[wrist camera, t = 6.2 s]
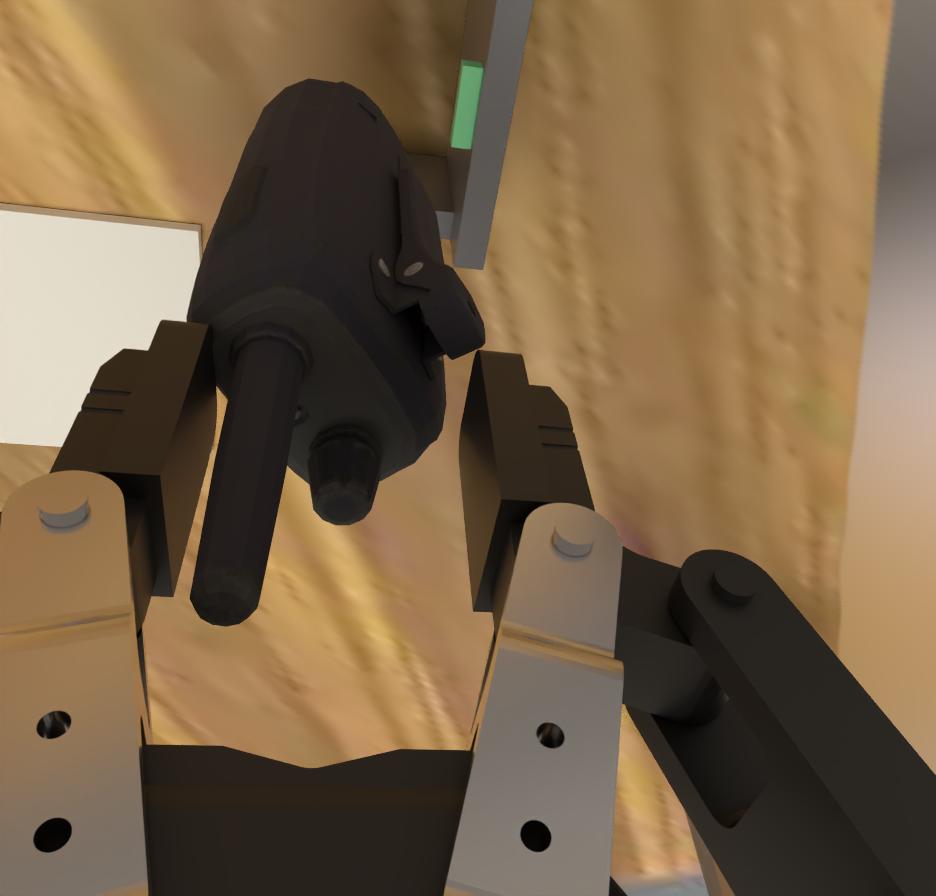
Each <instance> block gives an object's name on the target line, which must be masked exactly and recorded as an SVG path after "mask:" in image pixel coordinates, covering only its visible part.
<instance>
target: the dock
mask: <svg viewBox="0 0 936 896" xmlns="http://www.w3.org/2000/svg"><path fill="white" fill-rule="evenodd" d="M533 1H534V0H469V1H468V8H467V15H466V22H465V29H464V36H463V43H462V50H461V57H460V65H459V72H458V79H457V86H456V93H455V100H454V107H453V114H452V121H451V128H450V135H449V142H448V149H447V156H446V158H445V157H437V156H430V155H422V154H414V153H407V155H408V157H409V159H410V161H411V163H412V165H413V167H414V169H415V172H416V174H417V176H418V178H419V180H420V182H421V184H422V186H423V187H424V189H425V191H426V193H427V195H428V197H429V198H430V201H431V203H432V205H433V207H434V209H435V212H436V215H437V219H438V226H439V232H440V238H441V239H450V242H451V249H452V257H453V265H454V267H460V268H469V269H479V270H483V267H484V262H485V256H486V251H487V246H488V241H489V235H490V230H491V225H492V219H493V214H494V209H495V203H496V198H497V193H498V187H499V182H500V177H501V171H502V166H503V161H504V155H505V150H506V145H507V139H508V134H509V129H510V123H511V118H512V113H513V107H514V102H515V97H516V91H517V86H518V81H519V75H520V70H521V65H522V59H523V54H524V49H525V43H526V38H527V33H528V27H529V22H530V17H531V11H532V6H533Z"/></svg>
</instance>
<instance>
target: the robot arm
mask: <svg viewBox="0 0 936 896" xmlns="http://www.w3.org/2000/svg"><path fill="white" fill-rule="evenodd" d="M212 341H213V328H212V325H211V324H204V323H194V322H183V321H173V320H161V321H160V323H159V325H158V327H157V330H156V332H155V335H154V337H153V340H152V342H151V345H150V347H149V349H148V350H137V349H126V348H124V349H122V350H121V351H120V352H118V353H117V354H116V355H114V356H113V357H112V358H111V359H109V360H108V361H107V362H105V363H104V364H103V365H101V366H100V368H99V370H98V372H97V374H96V376H95V378H94V380H93V383H92V385H91V387H90V392H89V393H87V395H86V397H85V399H84V401H83V404H82V406H81V411H79V412H78V414H77V416H76V418H75V420H74V422H73V425H72V427H71V429H70V431H69V433H68V435H67V437H66V439H65V441H64V443H63V446H62V448H61V450H60V452H59V454H58V456H57V458H56V460H55V462H54V465H53V467H52V469H51V471H50V473H49V474H46V475H43V476H40V477H38V478H35V479H33V480H31V481H29V482H27V483H25V484H24V485H22V486H21V487H19V488H18V489H17V490H16V491H15V492H14V493H12V494H11V496H10V497H9V498H8V499H7V501H6V502H5V504H4V507H3V509H2V512H0V896H627V895H626V893H625V892H624V891H623V890H622V889H621V888H620V887H619V885H618V884H617V883H616V882H615V881H614V880H613V878H612V877H611V876H610V867H611V853H612V838H613V824H614V810H615V795H616V781H617V767H618V752H619V738H620V724H621V710H622V704H625V706H626V709H627V711H628V713H629V715H630V717H631V719H632V720H633V722H634V724H635V726H636V727H637V729H638V731H639V732H640V734H641V736H642V738H643V739H644V741H645V743H646V744H647V746H648V748H649V749H650V751H651V753H652V755H653V756H654V758H655V760H656V761H657V763H658V765H659V767H660V768H661V770H662V772H663V773H664V775H665V777H666V779H667V780H668V782H669V784H670V785H671V787H672V789H673V791H674V792H675V794H676V796H677V797H678V799H679V801H680V802H681V804H682V806H683V808H684V810H685V813H686V817H687V820H688V824H689V827H690V831H691V834H692V838H693V842H694V845H695V849H696V852H697V856H698V859H699V863H700V867H701V870H702V873H703V877H704V880H705V884H706V888H707V891H708V895H709V896H936V775H935V774H934V773H933V772H932V770H931V769H930V768H929V767H928V766H927V764H926V763H925V762H924V761H923V759H922V758H921V757H920V756H919V755H918V753H917V752H916V751H915V750H914V749H913V748H912V746H911V745H910V744H909V743H908V742H907V740H906V739H905V738H904V737H903V736H902V734H901V733H900V732H899V731H898V729H897V728H896V727H895V726H894V725H893V724H892V722H891V721H890V720H889V719H888V717H887V716H886V715H885V714H884V713H883V711H882V710H881V709H880V708H879V707H878V706H877V704H876V703H875V702H874V701H873V699H871V697H870V696H869V695H868V693H867V692H866V691H865V690H864V689H863V687H862V686H861V685H860V684H859V683H858V681H857V680H856V679H855V678H854V677H853V675H852V674H851V673H850V672H849V671H848V669H847V668H846V667H845V666H844V665H843V663H842V662H841V661H840V660H839V658H838V657H837V656H836V655H835V654H834V652H833V651H832V650H831V649H830V648H829V646H828V645H827V644H826V643H825V642H824V640H823V639H822V638H821V637H820V636H819V634H818V633H817V632H816V631H815V630H814V628H813V627H812V626H811V625H810V624H809V622H808V621H807V620H806V619H805V618H804V616H803V615H802V614H801V613H800V612H799V610H798V609H797V608H796V607H795V606H794V604H793V603H792V602H791V601H790V600H789V598H788V597H787V596H786V595H785V594H784V592H783V591H782V590H781V589H780V588H779V586H778V585H777V584H776V583H775V582H774V580H773V579H772V578H771V577H770V576H769V575H768V574H767V573H766V572H765V571H764V570H763V569H762V568H761V567H759V566H758V565H756V564H755V563H753V562H752V561H750V560H748V559H746V558H745V557H743V556H740V555H738V554H735V553H732V552H728V551H723V550H702V551H699V552H696V553H694V554H692V555H690V556H689V557H688V558H687V559H686V560H685V562H684V563H683V565H682V567H681V568H679V567H676V566H672V565H669V564H666V563H663V562H660V561H656V560H653V559H650V558H647V557H644V556H641V555H639V554H636V553H634V552H632V551H630V550H628V549H627V548H625V547H624V546H622V541H621V538H620V536H619V534H618V532H617V531H616V529H615V528H614V526H613V525H612V524H611V523H610V522H609V521H608V520H606V519H605V518H604V517H603V516H601V515H600V514H598V513H596V512H595V509H594V505H593V501H592V498H591V494H590V490H589V486H588V483H587V479H586V475H585V471H584V468H583V464H582V460H581V456H580V453H579V451H578V450H577V447H578V445H577V441H576V438H575V434H574V433H573V426H572V423H571V419H570V415H569V411H568V408H567V406H566V405H565V404H564V403H563V401H562V400H561V399H560V398H559V397H558V396H557V394H556V393H555V392H554V391H553V390H552V389H551V387H546V386H535V385H529V383H528V378H527V373H526V369H525V364H524V359H523V356H522V355H521V354H515V353H504V352H494V351H483V350H477V352H476V354H475V357H474V361H473V366H472V371H471V376H470V382H469V387H468V392H467V397H466V402H465V407H464V413H463V418H462V423H461V429H460V439H459V466H460V477H461V487H462V498H463V509H464V520H465V531H466V541H467V552H468V563H469V574H470V584H471V595H472V606H473V611H474V612H493V620H494V633H493V636H492V640H491V643H490V647H489V651H488V655H487V660H486V664H485V668H484V672H483V677H482V681H481V685H480V690H479V694H478V698H477V702H476V707H475V711H474V715H473V719H472V724H471V728H470V732H469V737H468V741H467V745H466V749H465V750H417V749H399V750H394V751H390V752H386V753H381V754H377V755H372V756H368V757H364V758H359V759H355V760H351V761H346V762H342V763H338V764H333V765H329V766H325V767H320V768H304V767H299V766H295V765H292V764H288V763H284V762H281V761H277V760H273V759H269V758H266V757H262V756H258V755H255V754H251V753H247V752H243V751H240V750H236V749H232V748H228V747H225V746H199V745H153V735H152V723H151V711H150V699H149V687H148V675H147V663H146V651H145V639H144V630H143V622H144V620H145V616H146V613H147V609H148V606H149V602H150V599H151V596H161V597H173V596H174V593H175V589H176V585H177V581H178V577H179V573H180V569H181V566H182V562H183V558H184V554H185V550H186V546H187V542H188V538H189V535H190V531H191V527H192V523H193V519H194V515H195V511H196V508H197V504H198V500H199V496H200V492H201V488H202V484H203V481H204V477H205V473H206V469H207V465H208V461H209V457H210V454H211V450H212V446H213V442H214V437H215V430H216V419H217V394H216V378H215V371H214V363H213V345H212Z"/></svg>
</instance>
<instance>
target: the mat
mask: <svg viewBox="0 0 936 896" xmlns="http://www.w3.org/2000/svg"><path fill="white" fill-rule="evenodd" d="M201 260H202V241H201V225H197V224H188V223H179V222H169V221H160V220H151V219H142V218H133V217H124V216H114V215H105V214H96V213H87V212H78V211H68V210H59V209H50V208H41V207H32V206H23V205H13V204H4V203H0V443H13V444H28V445H43V446H59V447H62V446H63V443H64V441H65V439H66V437H67V435H68V433H69V431H70V429H71V427H72V425H73V422H74V420H75V418H76V416H77V414H78V412H79V411H81V406H82V404H83V401H84V399H85V397H86V395H87V393H89V392H90V387H91V385H92V383H93V380H94V378H95V376H96V374H97V372H98V370H99V368H100V366H101V365H103V364H104V363H105V362H107V361H108V360H109V359H111V358H112V357H113V356H114V355H116V354H117V353H118V352H120V351H121V350H122V349H124V348H126V349H137V350H148V349H149V347H150V345H151V342H152V340H153V337H154V335H155V332H156V330H157V327H158V325H159V323H160V321H161V320H173V321H183V322H187V320H186V316H187V312H188V308H189V303H190V299H191V295H192V291H193V287H194V283H195V279H196V276H197V272H198V269H199V266H200V263H201ZM212 450H213V446H212ZM212 450H211V454H212ZM211 454H210V457H211Z"/></svg>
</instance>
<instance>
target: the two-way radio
mask: <svg viewBox="0 0 936 896" xmlns="http://www.w3.org/2000/svg"><path fill="white" fill-rule="evenodd" d="M186 320H187V322H194V323H204V324H211V325H212V328H213V341H212V345H213V363H214V371H215V378H216V386H217V387H218V388H219V390H220V391H221V392H222V393H223V395H224V396H225V397H226V398H227V399H228V402H227V407H226V411H225V416H224V421H223V425H222V430H221V434H220V439H219V443H218V448H217V453H216V457H215V462H214V468H213V473H212V478H211V484H210V489H209V495H208V500H207V506H206V511H205V517H204V522H203V528H202V533H201V539H200V544H199V550H198V555H197V561H196V566H195V572H194V577H193V583H192V588H191V594H190V600H191V602H192V604H193V606H194V609H195V611H196V612H197V614H198V615H199V617H200V618H201V619H203V620H205V621H206V622H208V623H210V624H212V625H219V626H231V625H236V624H240V623H241V622H243V621H244V620H245V619H247V618H248V617H249V616H250V615H251V614H252V613H253V612H254V611H255V610H256V609H257V607H258V603H259V599H260V595H261V590H262V585H263V581H264V576H265V571H266V566H267V561H268V556H269V551H270V547H271V542H272V537H273V532H274V527H275V522H276V517H277V513H278V508H279V503H280V498H281V493H282V488H283V483H284V479H285V474H286V468H287V466H288V467H289V468H290V469H291V470H292V471H293V472H295V473H296V474H297V475H298V476H300V477H301V478H302V479H303V480H305V481H306V482H307V483H308V484H310V490H311V497H312V503H313V510H314V511H315V512H316V513H317V514H318V515H319V516H320V517H321V519H323V520H324V521H327V522H329V523H332V524H334V525H351V524H353V523H356V522H358V521H360V520H362V519H364V518H365V517H366V515H367V514H368V513H369V512H370V510H371V509H372V505H373V502H374V498H375V495H376V491H377V487H378V484H379V481H381V480H383V479H385V478H387V477H389V476H391V475H392V474H394V473H396V472H398V471H400V470H402V469H404V468H406V467H408V466H410V465H412V464H413V463H415V462H416V461H417V459H418V458H419V457H420V456H421V455H422V453H423V452H424V451H425V450H426V449H427V447H428V446H429V445H430V444H431V443H432V442H434V441H436V440H437V438H438V437H439V435H440V433H441V431H442V428H443V421H444V415H445V408H446V389H445V372H444V360H443V355H445V354H447V356H448V357H449V358H450V359H451V360H454V359H456V358H458V357H461V356H463V355H465V354H467V353H470V352H472V351H474V350H476V349H479V348H481V347H482V346H483V345H484V344H485V329H484V323H483V320H482V318H481V316H480V314H479V312H478V310H477V307H476V305H475V303H474V301H473V299H472V297H471V294H470V293H469V292H468V290H467V289H466V287H465V286H464V284H463V283H462V281H461V280H460V278H459V277H458V275H457V274H456V272H455V271H454V269H453V268H452V267H450V266H448V265H445V264H444V260H443V254H442V248H441V241H440V232H439V226H438V219H437V215H436V212H435V209H434V207H433V205H432V203H431V201H430V198H429V197H428V195H427V193H426V191H425V189H424V187H423V186H422V184H421V182H420V180H419V178H418V176H417V174H416V172H415V169H414V167H413V165H412V163H411V161H410V159H409V157H408V155H407V153H406V151H405V149H404V147H403V146H402V144H401V142H400V141H399V139H398V137H397V135H396V134H395V132H394V130H393V129H392V127H391V125H390V124H389V122H388V121H387V119H386V118H385V116H384V115H383V113H382V112H381V110H380V109H379V107H378V106H377V105H376V104H375V103H374V102H373V101H372V100H371V99H370V98H369V97H368V96H367V95H366V94H365V93H364V92H363V91H361V90H359V89H357V88H356V87H354V86H352V85H350V84H348V83H345V82H343V81H342V82H338V83H334V82H328V81H322V80H315V79H307V80H304V81H301V82H299V83H296V84H294V85H291V86H288V87H286V88H285V89H283V90H282V91H281V92H280V93H279V94H278V95H277V96H276V97H275V98H274V99H273V100H272V101H271V102H270V103H269V104H267V105H266V106H265V107H264V109H263V111H262V113H261V115H260V117H259V119H258V122H257V124H256V126H255V129H254V130H253V132H252V134H251V136H250V137H249V139H248V142H247V144H246V146H245V149H244V151H243V154H242V156H241V159H240V162H239V165H238V167H237V170H236V173H235V175H234V178H233V181H232V183H231V186H230V188H229V191H228V192H227V194H226V196H225V199H224V201H223V204H222V207H221V210H220V213H219V215H218V218H217V220H216V222H215V224H214V227H213V229H212V232H211V234H210V237H209V240H208V242H207V245H206V248H205V251H204V254H203V257H202V260H201V263H200V266H199V269H198V272H197V276H196V279H195V283H194V287H193V291H192V295H191V299H190V303H189V308H188V312H187V316H186Z"/></svg>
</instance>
